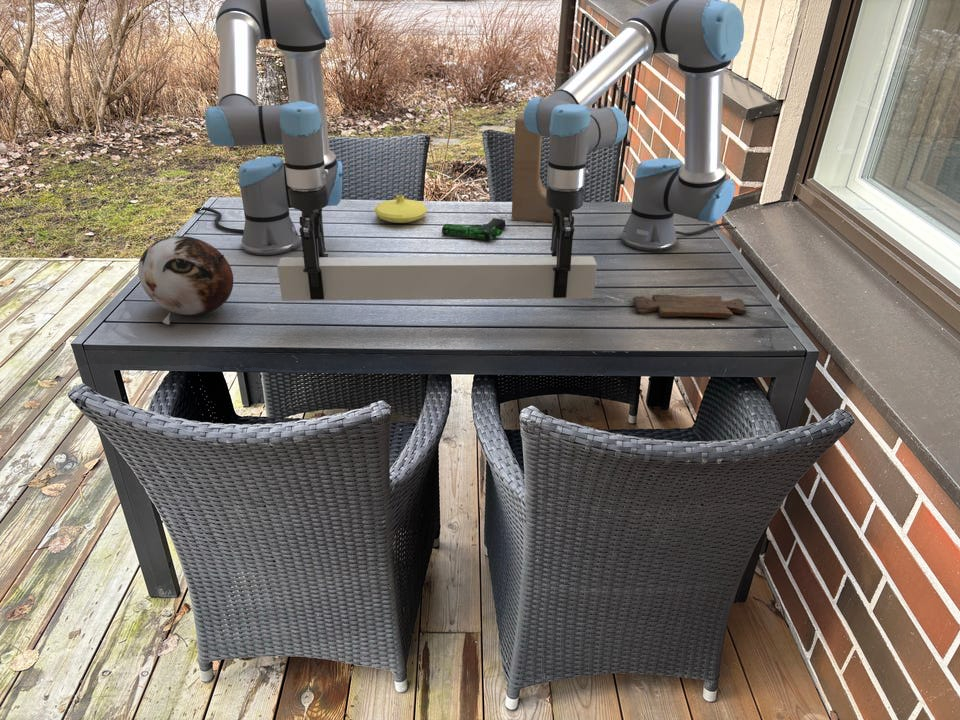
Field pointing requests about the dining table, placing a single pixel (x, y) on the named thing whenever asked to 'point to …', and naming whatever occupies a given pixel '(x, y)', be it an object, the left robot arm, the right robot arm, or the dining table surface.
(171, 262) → the eye print balloon
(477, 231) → the handgun
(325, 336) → the dining table surface
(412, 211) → the yellow pattypan squash
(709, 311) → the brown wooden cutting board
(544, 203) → the decorative block
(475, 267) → the beam
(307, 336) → the dining table surface
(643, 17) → the right robot arm
